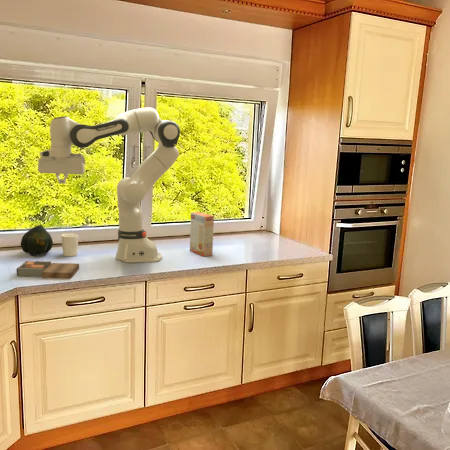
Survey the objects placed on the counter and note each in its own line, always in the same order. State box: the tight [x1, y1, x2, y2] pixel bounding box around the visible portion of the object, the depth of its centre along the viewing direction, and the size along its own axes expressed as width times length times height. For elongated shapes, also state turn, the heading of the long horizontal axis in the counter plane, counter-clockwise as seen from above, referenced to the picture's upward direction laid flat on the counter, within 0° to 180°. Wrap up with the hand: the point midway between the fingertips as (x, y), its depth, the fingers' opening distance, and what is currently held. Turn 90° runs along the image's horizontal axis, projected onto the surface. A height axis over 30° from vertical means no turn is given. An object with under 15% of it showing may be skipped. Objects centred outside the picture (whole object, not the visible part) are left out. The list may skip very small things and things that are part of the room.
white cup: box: [61, 232, 79, 257], centre depth 238 cm, size 8×8×10 cm
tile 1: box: [25, 260, 35, 268], centre depth 207 cm, size 4×4×2 cm
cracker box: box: [189, 211, 215, 257], centre depth 250 cm, size 14×6×21 cm, turn 34°
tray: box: [16, 260, 52, 278], centre depth 208 cm, size 11×12×4 cm
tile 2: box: [32, 265, 45, 271], centre depth 208 cm, size 4×4×2 cm
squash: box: [20, 224, 54, 257], centre depth 237 cm, size 14×15×15 cm
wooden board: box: [41, 262, 80, 279], centre depth 209 cm, size 12×14×2 cm
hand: (62, 183), depth 220 cm, fingers closed
